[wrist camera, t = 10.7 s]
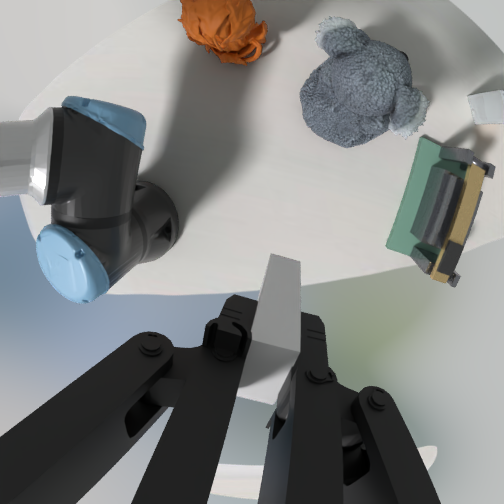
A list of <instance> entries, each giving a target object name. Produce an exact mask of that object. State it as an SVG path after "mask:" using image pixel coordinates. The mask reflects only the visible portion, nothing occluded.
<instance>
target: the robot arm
mask: <svg viewBox="0 0 504 504" xmlns="http://www.w3.org/2000/svg"><path fill="white" fill-rule="evenodd" d="M61 106H62V108H53V107H49V108H47V109H46V110H45V111H44V112H43V113H42V114H41V115H40V116H39V117H38V118H36V119H34V120H26V121H7V122H0V197H5V196H13V195H21V194H28V195H31V196H32V197H33V198H34V199H35V201H36V202H37V203H38V204H39V205H52V207H51V224H48V225H47V226H45V227H44V228H43V230H41V232H40V234H39V235H38V237H37V241H36V251H37V257H38V261H39V264H40V266H41V268H42V271H43V273H44V274H45V276H46V278H47V279H48V280H49V282H50V283H51V285H52V286H53V287H54V288H55V289H56V290H57V291H58V292H59V293H60V294H61V295H63V296H64V297H66V298H67V299H69V300H71V301H73V302H77V303H89V302H91V301H93V300H95V299H96V298H97V297H99V296H100V295H102V294H105V293H106V292H107V291H108V289H110V288H111V287H112V286H113V285H114V284H115V283H116V282H117V281H118V280H120V279H121V278H122V277H123V276H124V275H125V274H126V273H127V272H129V271H130V270H131V269H132V268H133V267H134V266H136V265H137V264H140V263H146V262H151V261H154V260H156V259H158V258H160V257H162V256H163V255H164V254H165V253H166V252H167V251H168V250H169V249H170V248H171V247H172V246H173V244H174V242H175V240H176V237H177V234H178V216H177V212H176V209H175V206H174V204H173V202H172V201H171V199H170V198H169V196H168V195H167V194H166V193H165V192H164V191H163V190H162V189H161V188H159V187H158V186H156V185H154V184H152V183H149V182H144V181H138V182H136V181H137V176H138V170H139V164H140V159H141V154H142V151H143V150H144V146H143V142H144V136H145V130H146V120H145V118H144V116H143V115H142V114H141V113H139V112H138V111H135V110H132V109H130V108H127V107H123V106H120V105H116V104H113V103H108V102H104V101H100V100H94V99H88V98H82V97H76V96H68V97H66V98H65V100H64V101H63V102H62V105H61ZM236 396H239V397H243V398H247V399H251V400H255V401H259V402H263V403H267V404H272V405H274V403H275V401H276V400H277V398H278V400H277V408H276V409H275V411H274V413H273V415H272V417H271V418H270V420H269V422H268V424H267V426H266V428H269V427H270V433H269V439H268V446H267V452H266V458H265V464H264V470H263V476H262V482H261V488H260V493H259V499H258V504H441V503H440V500H439V498H438V496H437V493H436V490H435V488H434V486H433V483H432V481H431V479H430V476H429V474H428V472H427V469H426V467H425V465H424V463H423V460H422V458H421V456H420V454H419V451H418V449H417V447H416V445H415V443H414V441H413V439H412V437H411V434H410V432H409V430H408V428H407V426H406V424H405V422H404V420H403V418H402V416H401V414H400V412H399V410H398V408H397V406H396V404H395V402H394V400H393V398H392V397H391V396H390V394H389V393H387V392H386V391H385V390H384V389H381V388H379V387H375V386H368V387H365V388H363V389H362V390H361V391H360V392H359V393H358V392H356V391H353V390H351V389H348V388H346V387H344V386H343V385H341V384H339V383H338V382H337V378H336V375H335V373H334V372H333V370H332V369H331V368H330V367H328V357H327V345H326V335H325V327H324V323H323V322H322V320H321V319H320V317H319V316H316V315H312V314H308V313H304V312H301V270H300V261H297V260H293V259H289V258H286V257H282V256H279V255H275V254H271V255H270V258H269V262H268V265H267V269H266V272H265V276H264V279H263V282H262V286H261V289H260V293H259V296H258V300H257V301H256V300H252V299H249V298H245V297H242V296H238V295H233V296H231V297H230V298H228V299H227V300H226V302H225V304H224V306H223V309H222V311H221V313H220V315H219V317H218V318H215V319H213V320H210V321H209V322H208V323H207V324H206V327H205V332H204V338H203V343H202V345H201V346H198V347H194V348H180V347H174V346H173V344H172V342H171V340H169V339H168V338H167V337H166V336H164V335H162V334H159V333H157V332H142V333H139V334H137V335H135V336H133V337H132V338H131V339H129V340H128V341H127V342H125V343H124V344H123V345H121V346H120V347H119V348H117V349H116V350H115V351H113V352H112V353H111V354H109V355H108V356H107V357H105V358H104V359H103V360H101V361H100V362H99V363H97V364H96V365H95V366H94V367H92V368H91V369H89V370H88V371H87V372H85V373H84V374H83V375H81V376H80V377H79V378H77V380H75V381H73V382H72V383H71V384H69V385H68V386H67V387H66V388H64V389H63V390H62V391H60V392H59V393H58V394H56V395H55V396H54V397H52V398H51V399H50V400H48V401H47V402H46V403H45V404H43V405H42V406H40V407H39V408H38V409H36V410H35V411H34V412H33V413H31V414H30V415H29V416H27V417H26V418H25V419H23V420H22V421H21V422H19V423H18V424H17V425H15V426H14V427H13V428H11V429H10V430H9V431H8V432H6V433H5V434H4V435H2V436H1V437H0V504H76V503H77V502H78V501H79V500H80V499H81V498H82V497H83V496H84V495H85V494H86V493H87V492H88V491H89V490H90V489H91V488H92V487H93V486H94V485H95V484H96V483H97V482H98V481H99V480H100V479H101V478H102V477H103V476H104V475H105V474H106V473H107V472H108V471H109V470H110V469H111V468H112V467H113V466H114V465H115V464H116V463H117V462H118V461H119V460H120V459H121V458H122V457H123V456H124V455H125V454H126V453H127V452H128V451H129V450H130V449H131V447H132V446H133V445H134V444H135V443H136V442H137V441H138V440H139V439H140V438H141V437H142V436H143V435H144V433H146V431H147V430H148V429H149V428H150V427H151V426H152V425H153V424H154V423H155V422H156V421H157V419H158V418H159V417H160V416H161V415H162V414H163V413H164V412H165V411H166V409H167V408H168V407H174V409H173V411H172V413H171V416H170V418H169V420H168V422H167V424H166V427H165V429H164V431H163V433H162V436H161V438H160V440H159V442H158V444H157V447H156V449H155V451H154V453H153V456H152V458H151V460H150V462H149V464H148V467H147V469H146V471H145V473H144V476H143V478H142V480H141V483H140V485H139V487H138V489H137V491H136V494H135V496H134V498H133V501H132V503H131V504H207V501H208V498H209V494H210V491H211V487H212V484H213V480H214V477H215V473H216V470H217V466H218V462H219V459H220V455H221V451H222V448H223V444H224V440H225V437H226V433H227V429H228V425H229V422H230V418H231V414H232V410H233V407H234V403H235V399H236Z"/></svg>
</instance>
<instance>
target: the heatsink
mask: <svg viewBox="0 0 504 504" xmlns="http://www.w3.org/2000/svg"><path fill="white" fill-rule="evenodd" d="M473 155H474V152H473V151H471V150H469V149H464V148H453V147H441V149H440V153H439V158H441V159H443V160H446V161H452V162H457V163H461V165H460V169H461V170H463V171H465V172H466V171H467V167H468V165H471V164H472V160H473ZM484 163H485V164H487V166H488V169H487V171H486V172H485V174H484V177H488V178H492V179H493V175H494V171H495V166H494V165H492V164H491V163H486V162H484ZM463 183H464V179H462V178H461V177H459V176H457V175H455V174H453V173H451V172H449V171H448V170H446V169H442V168H437V167H433V166H431V169H430V173H429V176H428V180H427V183H426V186H425V190H424V193H423V196H422V199H421V202H420V205H419V208H418V211H417V214H416V217H415V219H414V222H413V225H412V228H411V230H410V233H411V234H413V235H414V236H415V237H416V238H417V239H418V240H419V241H421V242H423V243H425V244H428V245H431V246H433V247H436V248H438V249H442V246H443V244H444V241H445V238H446V236H447V233H448V230H449V228H450V225H451V222H452V219H453V216H454V213H455V210H456V207H457V204H458V200H459V197H460V194H461V190H462V187H463ZM482 194H483V192H482V191H480V194H479V197H478V201H477V204H476V207H475V210H474V214H473V217H472V220H471V223H470V226H469V228H468V231H467V234H466V237H465V239H464V242H463V246H464V245H465V243H466V240H467V238H468V235H469V233H470V230H471V227H472V224H473V222H474V219H475V216H476V213H477V210H478V207H479V203H480V200H481V197H482ZM438 256H439V255H438V254H435V253H432V252H430V251H427V250H424V249H422V248H419V247H416V246H413V249H412V251H411V254H410V257H411V258H412V259H413V260H414V261H415V263H416V264H417V265H418V266H419V267H420V268H421V269H422V271H423V272H424V273H426V274H429V275H431V272H432V270H433V268H434V266H435V263H436V261H437V259H438ZM459 279H460V275H459V274H458V273H457V272H456V271H455V270H454V272H453V274H452V277H451V276H449V278H448V280H447V282H448V283H449V284H450V285H451V286H452V287H456V285H457V283H458V281H459Z"/></svg>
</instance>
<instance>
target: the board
mask: <svg viewBox="0 0 504 504" xmlns="http://www.w3.org/2000/svg"><path fill="white" fill-rule="evenodd" d="M440 149H441V146H439V145H437V144H435V143H433V142H431V141H429V140H427V139H425V138H423V137H420V139H419V143H418V147H417V151H416V154H415V158H414V162H413V165H412V169H411V172H410V176H409V179H408V182H407V186H406V189H405V192H404V195H403V198H402V201H401V204H400V207H399V210H398V213H397V216H396V219H395V222H394V224H393V227H392V230H391V233H390V235H389V238H388V240H387V243H386V247H387V249H390V250H393V251H396V252H399V253H402V254H405V255H408V256H410V254H411V251H412V249H413V246H416V247H419V248H422V249H424V250H427V251H430V252H432V253H435V254H438V255H439V254H440V251H441V249H438V248H436V247H433V246H431V245H428V244H425V243H423V242H421V241H419V240H418V239H417V238H416V237H415V236H414V235H413V234H411V233H410V230H411V228H412V225H413V222H414V219H415V217H416V214H417V211H418V208H419V205H420V202H421V199H422V196H423V193H424V190H425V186H426V183H427V180H428V176H429V173H430V169H431V166H433V167H437V168H442V169H446V170H448V171H449V172H451V173H453V174H455V175H457V176H459V177H461V178H462V179H465V175H466V172H465V171H463V170H461V169H460V165H461V163H457V162H452V161H446V160H443V159H441V158H439V153H440Z"/></svg>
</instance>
